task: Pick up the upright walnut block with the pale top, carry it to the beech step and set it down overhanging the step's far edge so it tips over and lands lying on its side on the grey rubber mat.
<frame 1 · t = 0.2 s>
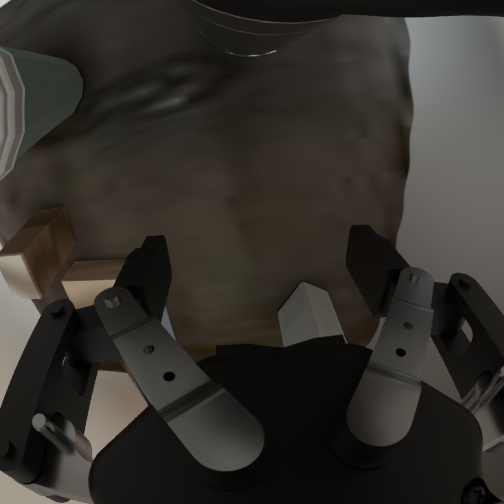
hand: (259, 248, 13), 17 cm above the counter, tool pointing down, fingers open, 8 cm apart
beech step: (118, 282, 35), on the counter
skincare box: (301, 299, 38), on the counter
disposable coffee cup: (60, 93, 22), on the counter
walnut block: (58, 226, 30), on the counter
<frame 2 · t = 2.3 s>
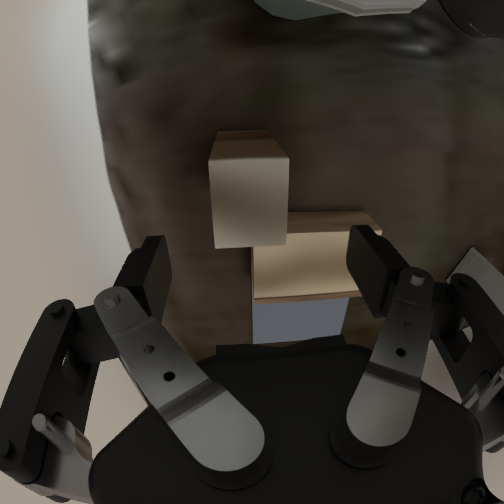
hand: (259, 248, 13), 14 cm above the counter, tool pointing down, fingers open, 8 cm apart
rubber mat: (300, 309, 33), on the counter
beech step: (307, 244, 29), on the counter
skincare box: (463, 266, 32), on the counter
walnut block: (243, 159, 24), on the counter
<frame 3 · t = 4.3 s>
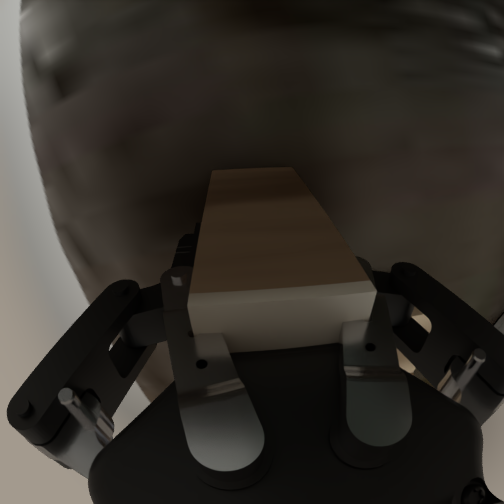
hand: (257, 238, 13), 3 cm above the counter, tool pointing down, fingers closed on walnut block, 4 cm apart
beech step: (340, 320, 20), on the counter
walnut block: (253, 213, 16), on the counter, touching gripper
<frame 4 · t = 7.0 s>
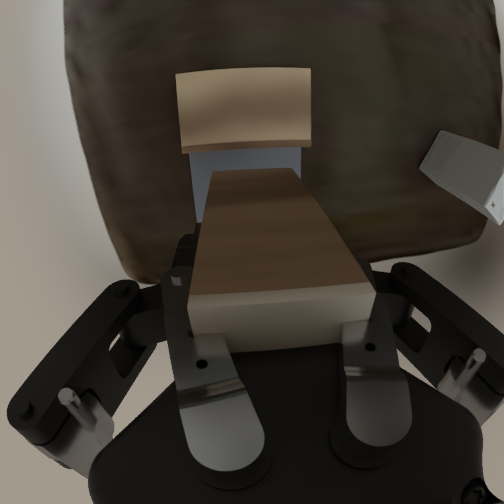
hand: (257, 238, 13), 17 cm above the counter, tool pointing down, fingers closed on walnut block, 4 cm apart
rubber mat: (247, 187, 30), on the counter
beech step: (243, 105, 26), on the counter
skincare box: (437, 155, 29), on the counter
walnut block: (253, 214, 16), point 15 cm above the counter, touching gripper
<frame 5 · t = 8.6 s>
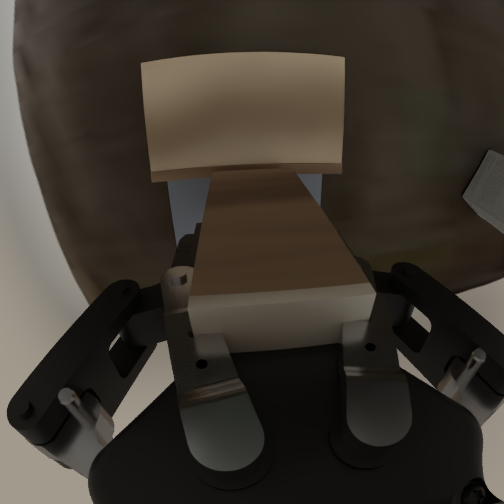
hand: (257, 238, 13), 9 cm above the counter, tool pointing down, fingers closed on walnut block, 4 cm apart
rubber mat: (246, 223, 23), on the counter
beech step: (242, 108, 18), on the counter
skincare box: (482, 180, 22), on the counter
walnut block: (253, 214, 16), point 6 cm above the counter, touching gripper
when the fingers open (7 cm above the counter, at t = 9.7 s): walnut block drops 1 cm and tips over, resting on rubber mat.
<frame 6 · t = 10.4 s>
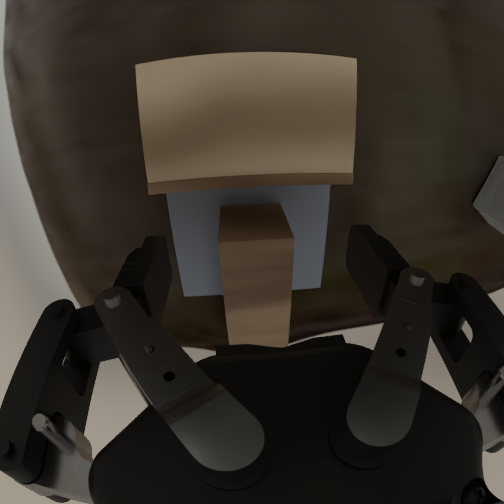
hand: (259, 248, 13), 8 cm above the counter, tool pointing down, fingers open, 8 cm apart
rubber mat: (250, 234, 21), on the counter
beech step: (246, 113, 17), on the counter
skincare box: (492, 186, 20), on the counter
walnut block: (253, 219, 18), point 3 cm above the counter, tilted 90°, touching rubber mat
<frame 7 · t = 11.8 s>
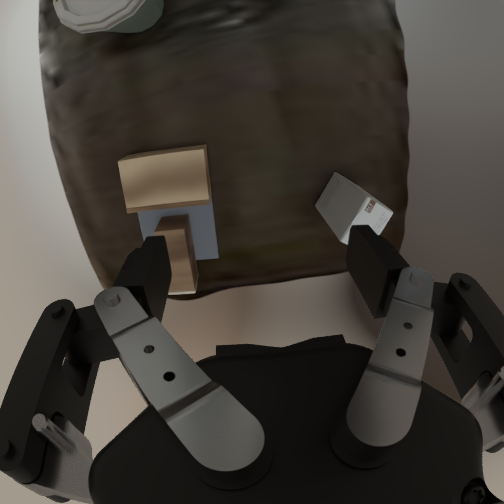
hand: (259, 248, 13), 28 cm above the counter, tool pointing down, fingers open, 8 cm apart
rubber mat: (177, 230, 43), on the counter
beech step: (169, 173, 38), on the counter
skincare box: (334, 192, 42), on the counter
disposable coffee cup: (141, 14, 27), on the counter
walnut block: (172, 222, 39), point 3 cm above the counter, tilted 90°, touching rubber mat
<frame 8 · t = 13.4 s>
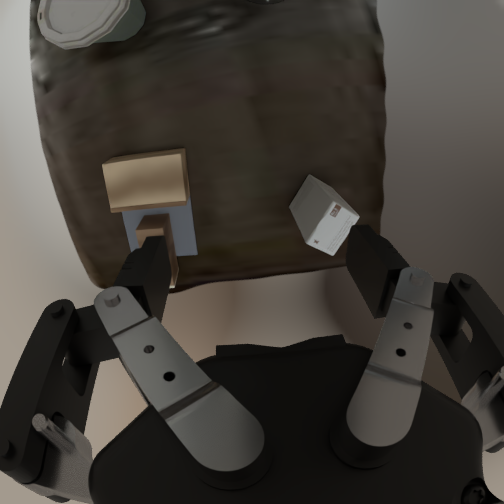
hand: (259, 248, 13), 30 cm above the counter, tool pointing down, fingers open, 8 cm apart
rubber mat: (159, 228, 45), on the counter
beech step: (150, 175, 40), on the counter
skincare box: (308, 194, 44), on the counter
disposable coffee cup: (124, 23, 28), on the counter
walnut block: (152, 221, 41), point 3 cm above the counter, tilted 90°, touching rubber mat
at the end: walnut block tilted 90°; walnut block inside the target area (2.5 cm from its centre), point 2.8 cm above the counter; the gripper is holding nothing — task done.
